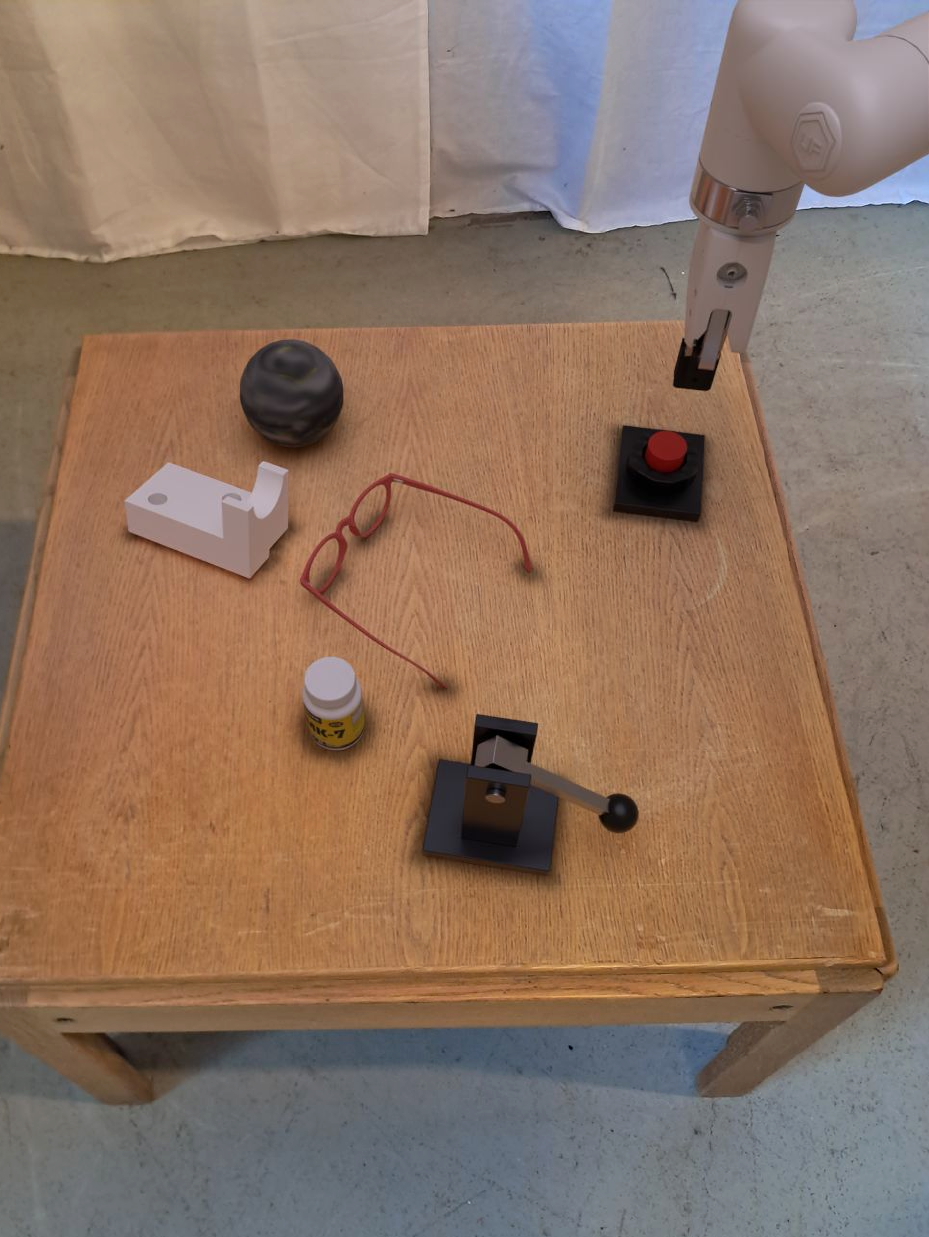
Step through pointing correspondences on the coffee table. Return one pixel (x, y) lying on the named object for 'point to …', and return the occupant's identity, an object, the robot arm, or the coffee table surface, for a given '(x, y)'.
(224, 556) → the bracket
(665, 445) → the button
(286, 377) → the decorative stone
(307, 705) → the supplement bottle
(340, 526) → the red eyeglasses
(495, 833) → the bracket
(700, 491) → the control block
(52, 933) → the coffee table surface
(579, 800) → the lever
